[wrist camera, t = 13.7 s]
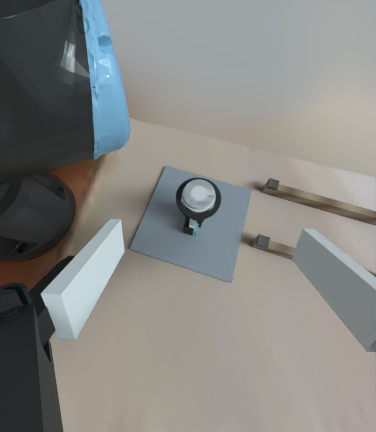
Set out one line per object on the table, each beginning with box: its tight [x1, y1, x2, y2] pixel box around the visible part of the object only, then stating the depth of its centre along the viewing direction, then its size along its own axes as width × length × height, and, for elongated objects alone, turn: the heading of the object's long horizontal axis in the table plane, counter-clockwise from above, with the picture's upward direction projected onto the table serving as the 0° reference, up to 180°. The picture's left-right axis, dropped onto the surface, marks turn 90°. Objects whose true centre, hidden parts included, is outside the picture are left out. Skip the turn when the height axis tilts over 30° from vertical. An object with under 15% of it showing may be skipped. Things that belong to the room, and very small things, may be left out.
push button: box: [176, 177, 221, 236], centre depth 25 cm, size 7×5×10 cm
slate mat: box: [129, 166, 251, 283], centre depth 30 cm, size 16×16×1 cm
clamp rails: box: [251, 178, 376, 275], centre depth 29 cm, size 20×12×3 cm, turn 72°
